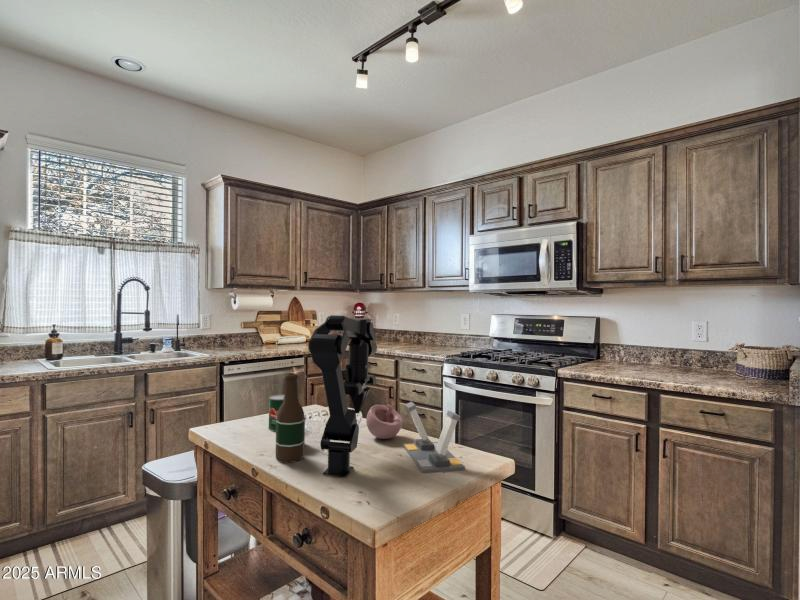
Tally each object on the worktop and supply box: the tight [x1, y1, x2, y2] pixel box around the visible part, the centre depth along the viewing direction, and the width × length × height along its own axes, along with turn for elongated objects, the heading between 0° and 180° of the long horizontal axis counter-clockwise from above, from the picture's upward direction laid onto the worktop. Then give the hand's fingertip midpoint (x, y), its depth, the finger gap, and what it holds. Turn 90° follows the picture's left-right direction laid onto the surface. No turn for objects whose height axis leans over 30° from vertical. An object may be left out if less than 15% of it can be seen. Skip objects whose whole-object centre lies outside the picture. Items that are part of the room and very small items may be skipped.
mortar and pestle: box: [366, 403, 404, 440], centre depth 149 cm, size 12×12×12 cm
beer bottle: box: [275, 372, 305, 464], centre depth 128 cm, size 8×8×24 cm
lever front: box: [435, 410, 461, 459], centre depth 125 cm, size 2×4×12 cm, turn 13°
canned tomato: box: [268, 394, 284, 432], centre depth 158 cm, size 8×8×11 cm
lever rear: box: [405, 401, 430, 443], centre depth 138 cm, size 2×4×12 cm, turn 13°
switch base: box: [402, 438, 466, 473], centre depth 132 cm, size 12×22×2 cm, turn 13°
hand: (357, 413), depth 133 cm, fingers closed
